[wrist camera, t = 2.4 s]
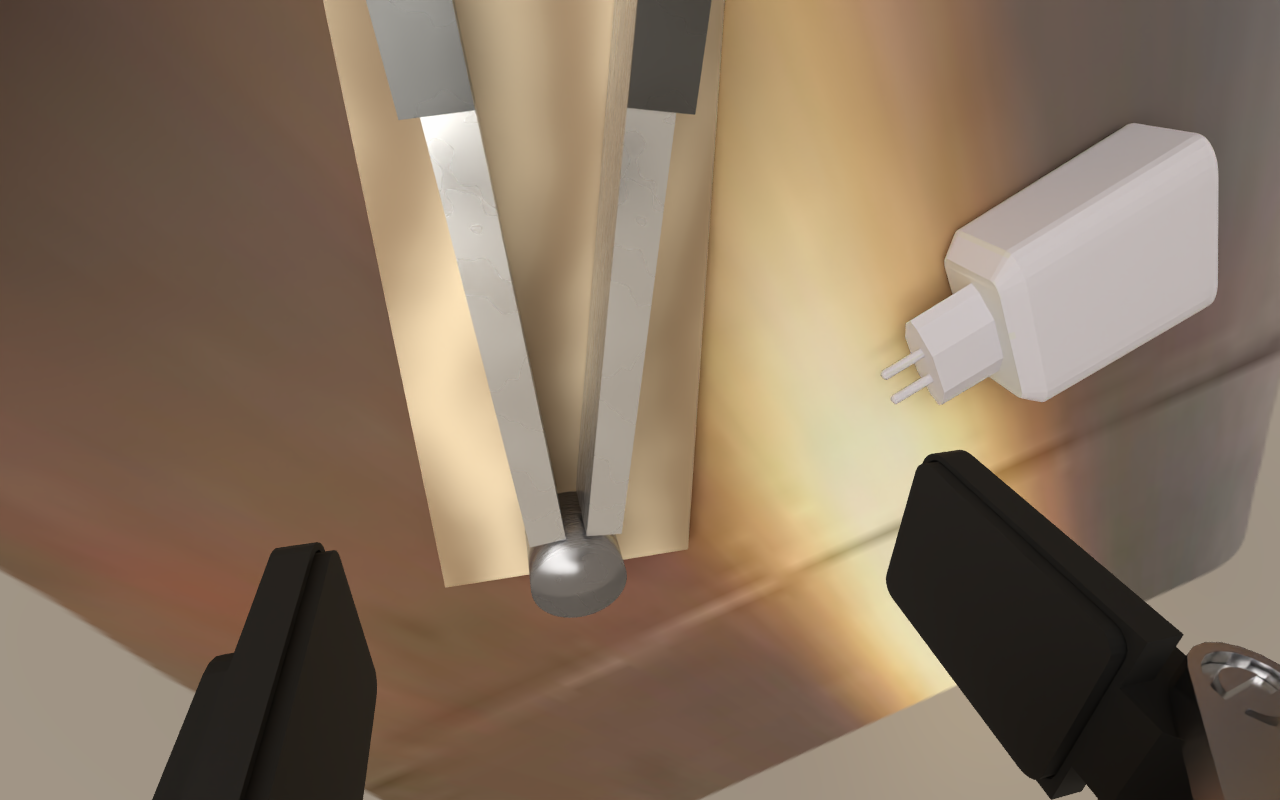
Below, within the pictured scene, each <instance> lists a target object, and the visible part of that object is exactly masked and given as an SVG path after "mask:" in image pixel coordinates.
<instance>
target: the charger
mask: <svg viewBox="0 0 1280 800" xmlns="http://www.w3.org/2000/svg"><path fill="white" fill-rule="evenodd" d="M944 265H945V270H946V273H947V277H948V280H949V284H950V287H951V291H952V294H953V295H951V296H950V297H948V298H946V299H945V300H943V301H941V302H940V303H938V304H936V305H935V306H933V307H932V308H930V309H928V310H927V311H925V312H923V313H922V314H920V315H918V316H917V317H915V318H914V319H912V320H910V321H909V322H907V323H906V331H905V338H906V341H907V344H908V347H909V350H910V353H911V354H909V355H907V356H906V357H904V358H903V359H901V360H899V361H898V362H896V363H894V364H893V365H891V366H889V367H888V368H886V369H884V370H883V371H882V372H881V376H882V377H883V378H884V379H886V380H887V379H889V378H891V377H892V376H894V375H896V374H897V373H899V372H900V371H902V370H904V369H905V368H907V367H909V366H910V365H912V364H915V367H916V369H917V371H918V373H919V375H920V377H921V378H920V379H918V380H917V381H915V382H913V383H912V384H910V385H908V386H907V387H905V388H903V389H902V390H900V391H898V392H897V393H895V394H893V395H892V396H891V401H892V402H893V403H894V404H897V403H899V402H901V401H902V400H904V399H906V398H907V397H909V396H911V395H912V394H914V393H916V392H917V391H919V390H921V389H922V388H924V387H927V389H928V390H929V392H930V394H931V395H932V397H933V398H934V399H935V401H936V402H937V403H938V405H941V404H944V403H945V402H947V401H949V400H950V399H952V398H954V397H955V396H957V395H959V394H960V393H962V392H964V391H966V390H967V389H969V388H971V387H972V386H974V385H976V384H977V383H979V382H981V381H982V380H984V379H986V378H987V377H990V378H991V379H993V380H994V381H996V382H997V383H999V384H1000V385H1001V386H1003V387H1004V388H1006V389H1007V390H1009V391H1010V392H1011V393H1013V394H1014V395H1016V396H1017V397H1019V398H1023V399H1028V400H1034V401H1039V402H1044V401H1047V400H1048V399H1050V398H1052V397H1053V396H1055V395H1057V394H1059V393H1060V392H1062V391H1064V390H1065V389H1067V388H1069V387H1071V386H1072V385H1074V384H1076V383H1077V382H1079V381H1081V380H1083V379H1084V378H1086V377H1088V376H1089V375H1091V374H1093V373H1095V372H1096V371H1098V370H1100V369H1101V368H1103V367H1105V366H1107V365H1108V364H1110V363H1112V362H1113V361H1115V360H1117V359H1119V358H1120V357H1122V356H1124V355H1125V354H1127V353H1129V352H1131V351H1132V350H1134V349H1136V348H1137V347H1139V346H1141V345H1142V344H1144V343H1146V342H1148V341H1149V340H1151V339H1153V338H1154V337H1156V336H1158V335H1160V334H1161V333H1163V332H1165V331H1166V330H1168V329H1170V328H1172V327H1173V326H1175V325H1177V324H1178V323H1180V322H1182V321H1184V320H1185V319H1187V318H1189V317H1190V316H1192V315H1194V314H1196V313H1197V312H1199V311H1201V310H1202V309H1204V308H1206V307H1208V306H1209V305H1211V303H1212V302H1213V301H1214V299H1215V297H1216V294H1217V286H1218V164H1217V160H1216V156H1215V152H1214V150H1213V148H1212V146H1211V144H1210V142H1209V141H1208V140H1207V139H1206V138H1205V137H1204V136H1202V135H1200V134H1198V133H1193V132H1186V131H1180V130H1174V129H1168V128H1161V127H1155V126H1149V125H1143V124H1136V123H1131V124H1127V125H1126V126H1124V127H1123V128H1121V129H1119V130H1118V131H1116V132H1115V133H1113V134H1111V135H1110V136H1108V137H1107V138H1105V139H1103V140H1102V141H1100V142H1098V143H1097V144H1095V145H1094V146H1092V147H1090V148H1089V149H1087V150H1086V151H1084V152H1082V153H1081V154H1079V155H1078V156H1076V157H1074V158H1073V159H1071V160H1069V161H1068V162H1066V163H1065V164H1063V165H1061V166H1060V167H1058V168H1057V169H1055V170H1053V171H1052V172H1050V173H1049V174H1047V175H1045V176H1044V177H1042V178H1040V179H1039V180H1037V181H1036V182H1034V183H1032V184H1031V185H1029V186H1028V187H1026V188H1024V189H1023V190H1021V191H1020V192H1018V193H1016V194H1015V195H1013V196H1011V197H1010V198H1008V199H1007V200H1005V201H1003V202H1002V203H1000V204H999V205H997V206H995V207H994V208H992V209H991V210H989V211H987V212H986V213H984V214H983V215H981V216H979V217H978V218H976V219H974V220H973V221H971V222H970V223H968V224H966V225H965V226H963V227H962V228H960V229H958V230H957V231H956V232H955V234H954V236H953V239H952V242H951V244H950V247H949V249H948V252H947V254H946V257H945V260H944Z"/></svg>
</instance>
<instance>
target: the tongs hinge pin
mask: <svg viewBox="0 0 1280 800" xmlns="http://www.w3.org/2000/svg"><path fill="white" fill-rule="evenodd" d="M558 498H559V504H560V509H561V515H562V520H563V526H564V531H565V537H566V539H565V540H561V541H556V542H552V543H547V544H543V545H539V546H534V547H530V546H529V542H528V538H527V534H526V530H525V536H526V546H527V556H528V565H529V575H530V584H531V593H532V597H533V599H534V601H535V603H536V604H537V605H538V606H539V607H540V608H541V609H542V610H544V611H545V612H547V613H549V614H552V615H555V616H559V617H569V618H570V617H582V616H586V615H590V614H593V613H596V612H598V611H600V610H602V609H604V608H605V607H607V606H609V605H610V604H611V603H612V602H614V601H615V600H616V599H617V598H618V596H619V595H620V594H621V592H622V591H623V589H624V587H625V584H626V579H627V574H626V569H625V565H624V562H623V558H622V555H621V551H620V547H619V544H618V540H617V537H616V534H611V535H597V536H586V531H585V527H584V522H583V518H582V513H581V509H580V504H579V500H578V495H577V491H569V492H562V493H558Z"/></svg>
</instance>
